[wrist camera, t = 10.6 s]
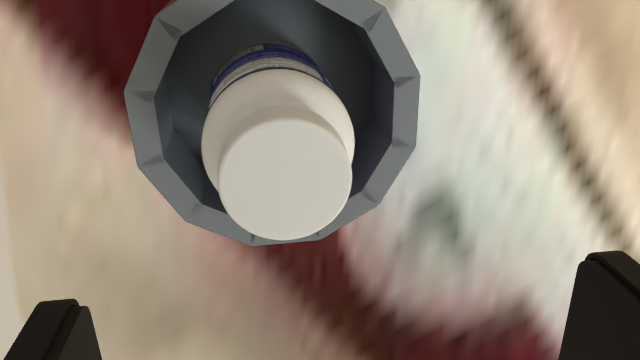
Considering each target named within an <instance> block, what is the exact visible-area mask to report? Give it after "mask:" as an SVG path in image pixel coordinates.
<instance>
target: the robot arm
mask: <svg viewBox="0 0 640 360" xmlns="http://www.w3.org/2000/svg"><path fill="white" fill-rule="evenodd" d="M4 360H102V357H101V353H100V349H99V345H98V341H97V337H96V333H95V329H94V325H93V321H92V317H91V313H90V310H89V308H88V307H87V306H79V303H78V302H77V300H75V299H64V300H53V301H42V302H40V303H38V304H37V306H36V307H35V309H34V310H33V312H32V314H31V315H30V317H29V318H28V320H27V322H26V323H25V325H24V327H23V328H22V330H21V332H20V333H19V335H18V337H17V338H16V340H15V342H14V343H13V345H12V346H11V348H10V350H9V352H8V353H7V355H6V356H5V358H4ZM558 360H640V264H639V263H637V262H636V261H635V260H634V259H632V258H631V257H630V256H629V255H627V254H626V253H624V252H623V251H606V252H595V253H590V254H588V256H587V257H586V258H585V261H582V262H581V263H580V264H579V266H578V269H577V273H576V278H575V283H574V288H573V293H572V297H571V302H570V307H569V312H568V316H567V321H566V326H565V331H564V336H563V340H562V345H561V350H560V355H559V359H558Z"/></svg>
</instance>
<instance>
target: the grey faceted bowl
mask: <svg viewBox="0 0 640 360" xmlns="http://www.w3.org/2000/svg"><path fill="white" fill-rule="evenodd" d="M264 41H276V42H282V43H286V44H289V45H292V46H294V47H296V48H298V49H300V50H302V51H303V52H305V53H306V54H307V55H309V56H310V57H311V58H312V59H313V60H314V61H315V62H316V64H317V65H318V66H319V67H320V69H321V70H322V72H323V73H324V75H325V76H326V78H327V80H328V81H329V83H330V84H331V86H332V87H333V89H334V91H335V92H336V94H337V95H338V97H339V98H340V100H341V101H342V103H343V105H344V106H345V108H346V110H347V112H348V115H349V117H350V120H351V123H352V126H353V130H354V139H355V147H354V156H353V160H352V164H351V168H352V185H351V190H350V194H349V197H348V199H347V201H346V203H345V206H344V207H343V209H342V210H341V212H340V213H339V214H338V215H337V216H336V218H335V219H334V220H333V221H332V222H330V223H329V224H328V225H327V226H325V227H324V228H322V229H321V230H319V231H317V232H315V233H313V234H311V235H309V236H306V237H302V238H298V239H292V240H273V239H267V238H263V237H260V236H257V235H254V234H252V233H250V232H248V231H247V230H245V229H244V228H242V227H241V226H240V225H238V224H237V223H236V222H235V221H234V220H233V219H232V218H231V217H230V215H229V214H228V213H227V211H226V209H225V208H224V206H223V204H222V201H221V199H220V196H219V192H218V191H217V189H216V188H215V187H214V185H213V184H212V182H211V180H210V179H209V177H208V175H207V172H206V170H205V167H204V163H203V158H202V150H201V141H202V133H203V128H204V123H205V119H206V113H207V109H208V103H209V96H210V90H211V85H212V82H213V79H214V77H215V75H216V73H217V71H218V69H219V67H220V66H221V65H222V63H223V62H224V61H225V60H226V59H227V58H228V57H229V56H230V55H232V54H233V53H234V52H236V51H237V50H239V49H241V48H243V47H245V46H247V45H250V44H253V43H257V42H264ZM419 87H420V74H419V72H418V70H417V68H416V66H415V64H414V62H413V60H412V58H411V56H410V54H409V52H408V50H407V48H406V47H405V45H404V43H403V41H402V39H401V37H400V35H399V33H398V31H397V29H396V27H395V25H394V23H393V21H392V19H391V18H390V16H389V14H388V12H387V10H386V8H385V7H384V6H383V5H381V4H379V3H377V2H376V1H374V0H171V1H170V2H169V3H168V4H167V5H166V6H165V7H164V8H163V9H162V10H161V11H160V12H159V13H157V14H156V15H155V17H154V19H153V21H152V24H151V26H150V29H149V31H148V34H147V36H146V38H145V41H144V43H143V46H142V48H141V50H140V53H139V55H138V58H137V60H136V63H135V65H134V67H133V70H132V72H131V75H130V77H129V80H128V82H127V84H126V87H125V89H124V97H125V102H126V108H127V113H128V118H129V124H130V129H131V135H132V140H133V145H134V151H135V156H136V162H137V166H138V168H139V169H140V170H141V171H142V173H143V174H144V175H145V176H146V177H147V178H148V179H149V181H150V182H151V183H152V184H153V185H154V186H155V187H156V188H157V190H158V191H159V192H160V193H161V194H162V195H163V196H164V198H165V199H166V200H167V201H168V202H169V203H170V204H171V206H172V207H173V208H174V209H175V210H176V211H177V212H178V214H179V215H180V216H181V217H182V218H183V219H184V220H185V221H186V222H188V223H191V224H193V225H196V226H199V227H201V228H204V229H207V230H209V231H212V232H215V233H217V234H220V235H223V236H225V237H228V238H230V239H233V240H236V241H238V242H241V243H244V244H246V245H249V246H251V245H252V246H261V245H272V244H282V243H293V242H304V241H315V240H319V239H320V240H321V239H322V238H324V237H326V236H328V235H329V234H331V233H333V232H334V231H336V230H338V229H339V228H341V227H343V226H344V225H346V224H348V223H349V222H351V221H353V220H354V219H356V218H358V217H359V216H361V215H363V214H364V213H366V212H368V211H369V210H371V209H373V208H374V207H376V206H378V204H380V202H381V200H382V199H383V197H384V196H385V194H386V193H387V191H388V189H389V188H390V186H391V185H392V183H393V182H394V180H395V178H396V177H397V175H398V174H399V172H400V171H401V169H402V167H403V166H404V164H405V163H406V161H407V160H408V158H409V156H410V155H411V153H412V152H413V150H414V149H415V146H416V134H417V119H418V103H419Z"/></svg>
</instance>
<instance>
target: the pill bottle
mask: <svg viewBox="0 0 640 360" xmlns="http://www.w3.org/2000/svg"><path fill="white" fill-rule="evenodd" d="M354 147H355V139H354V130H353V126H352V123H351V120H350V117H349V115H348V112H347V110H346V108H345V106H344V105H343V103H342V101H341V100H340V98H339V97H338V95H337V94H336V92H335V91H334V89H333V87H332V86H331V84H330V83H329V81H328V80H327V78H326V76H325V75H324V73H323V72H322V70H321V69H320V67H319V66H318V65H317V64H316V62H315V61H314V60H313V59H312V58H311V57H310V56H309V55H307V54H306V53H305V52H303V51H302V50H300V49H298V48H296V47H294V46H292V45H289V44H286V43H282V42H276V41H264V42H257V43H253V44H250V45H247V46H245V47H243V48H241V49H239V50H237V51H236V52H234V53H233V54H232V55H230V56H229V57H228V58H227V59H226V60H225V61H224V62H223V63H222V65H221V66H220V67H219V69H218V71H217V73H216V75H215V77H214V79H213V82H212V85H211V90H210V96H209V103H208V109H207V113H206V119H205V123H204V128H203V133H202V141H201V150H202V158H203V163H204V167H205V170H206V172H207V175H208V177H209V179H210V180H211V182H212V184H213V185H214V187H215V188H216V189H217V191H218V192H219V196H220V199H221V201H222V204H223V206H224V208H225V209H226V211H227V213H228V214H229V215H230V217H231V218H232V219H233V220H234V221H235V222H236V223H237V224H238V225H240V226H241V227H242V228H244V229H245V230H247V231H248V232H250V233H252V234H254V235H257V236H260V237H263V238H267V239H273V240H292V239H298V238H302V237H306V236H309V235H311V234H313V233H315V232H317V231H319V230H321V229H322V228H324V227H325V226H327V225H328V224H329V223H330V222H332V221H333V220H334V219H335V218H336V216H337V215H338V214H339V213H340V212H341V210H342V209H343V207H344V206H345V203H346V201H347V199H348V197H349V194H350V190H351V185H352V168H351V164H352V160H353V156H354Z"/></svg>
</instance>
